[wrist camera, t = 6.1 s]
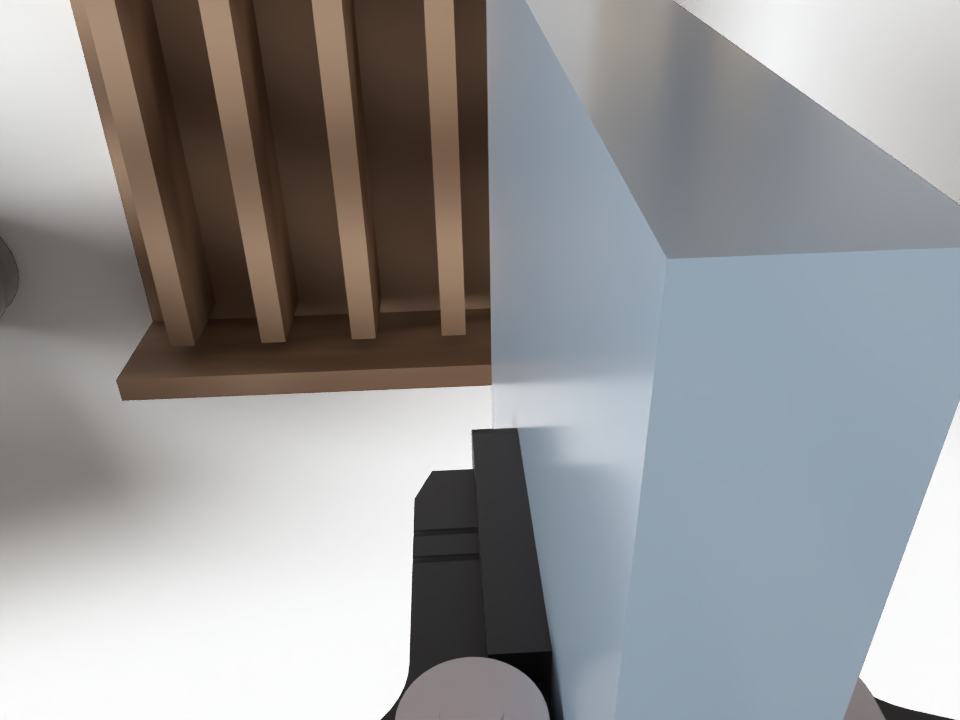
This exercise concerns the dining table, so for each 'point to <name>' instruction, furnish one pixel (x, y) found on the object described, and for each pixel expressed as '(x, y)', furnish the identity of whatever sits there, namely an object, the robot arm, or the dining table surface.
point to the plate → (707, 361)
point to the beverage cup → (7, 277)
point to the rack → (300, 190)
